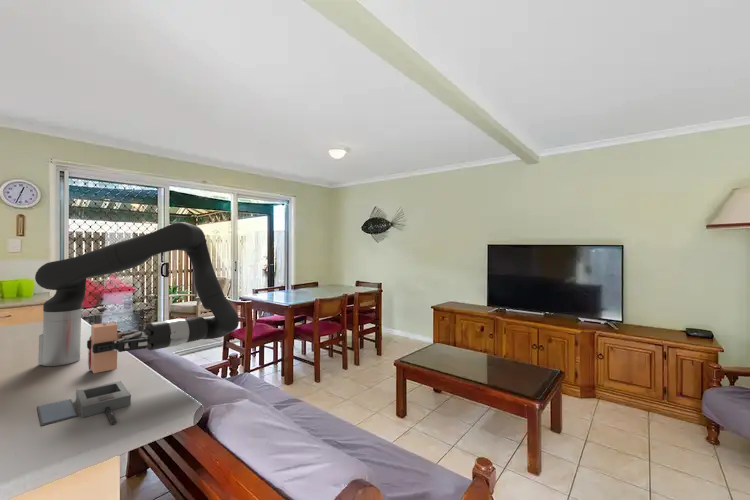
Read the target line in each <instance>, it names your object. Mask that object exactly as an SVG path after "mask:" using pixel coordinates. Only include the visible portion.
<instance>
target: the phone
mask: <svg viewBox="0 0 750 500" xmlns="http://www.w3.org/2000/svg"><path fill="white" fill-rule="evenodd" d="M74 405H75V404H74V402H73V400H72V398H69V399H65V400H59V401H56V402H52V403H47V404H44V405H43V404H42V405H39V406H36V410H37V409H38V410H37V414H38V418H39V424H40V426H41V427H44V426H48V425H51V424H56V423H58V422H62V421H65V420H70V419H74V418H78V417H79V414H78V412H77V409H76V407H75V406H74Z"/></svg>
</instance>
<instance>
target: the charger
mask: <svg viewBox="0 0 750 500" xmlns="http://www.w3.org/2000/svg"><path fill="white" fill-rule="evenodd" d="M90 327H91V328H90V329H91V330H90V331H91V332H90V336H91V370H92V373H93V374H96V373H97V374H98V373H101V372H107V371H112V370H117V369H118V351H113V349H112V351H106V352H101V353H93V352H92V346H93V344H97V343H103V342H109V341H112V343H113V341H114V340H117V333H118V323H116V322H114V321H111V322H102V323H101V322H100V323H95V324H91V326H90ZM91 370H90V371H91Z"/></svg>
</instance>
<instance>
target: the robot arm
mask: <svg viewBox="0 0 750 500" xmlns="http://www.w3.org/2000/svg"><path fill="white" fill-rule="evenodd" d="M208 247H209V246H208V244H207V240H206V236H205V233H204V231H203V230H202V228H200V227H199V226H197V225H194V224H191V223H188V222H185V221H177V222H173V223H171V224H168V225H166V226H163V227H162V228H160V229H157V230H155V231H152V232H149V233H147V234H143V235H138V236H136V237H132V238H129V239H124V240H121V241H118V242H114V243H111V244H108V245H106V246H103V247H100V248H97V249H94V250H91V251H88V252H85V253H83V254H80V255H77V256H74V257H69V258H64V259H60V260H54V261H49V262H46V263H44V264H42V265H41V266H40V267H39V268H38V269H37V271H36V272H35V276H34V281H35V282H36V284H37V285H38V287H41V288H42V289H45V290H50V291H51V290H52V291H55V293H54V295H53V296H51V298H50V299H48V300H46V301H45V302H44V303H43V306H42V311H43V312H42V316H43V317H42V334H41V333H40V334H39V336H38V353H37V354H38V355H37V356H38V358H37V359H38V360H37V361H38V363H37V364H38V365H39V366H44V367H55V366H63V365H69V364H72V363H76V362H78V361H80V360H81V343H82V341H81V337H82V335H81V333H82V304H83V302H84V300H85V296H86V286H87V278H90V277H99V276H105V275H110V274H115V273H119V272H123V271H127V270H130V269H134V268H137V267H139V266H141V265H143V264H144V263H146V262H147V261H148V260H149V259H151V258H152V257H155V256H156V255H160V254H163V253H167V252H172V251H182V252H185V253H186V254H187V257H188V258H189V260H190V261H191V263H192V264H191V265H192V268H193V279H194V280H193V281H194V287H195V291H196V294H197V295H198V298H199V300H200V303H201V305H202V307H203V308H204V309H205V310H206V311H211V313H212V315H213V316H212V317H209V318H207V317H206V318H205V317H202V316H193V317H187V318H173V319H167V320H161V321H160V320H159V321H154V322H148V323H147V324H146V325H145V327H144V330H143V331H139V330H138V329H136V330H135V329H134V330H131V329H128V330H124V331H117V340H114V341H113V343H112V341H109V342H103V343H97V344H93V346H92V352H93V353H101V352H106V351H112V349H113V351H117V353H122V352H128V351H129V352H130V351H136V350H143V349H144V350H145V349H147V350H148V351H155V350H161V349H165V348H172V347H175V346H176V347H177V346H180V345H182V344H187V343H191V342H195V341H200V340H214V339H219V338H223V337H226V336H227V335H228V334H231V333H233V332H234V331H235V330H236V329H237V328H238V327H239V324H240V321H239V320H240V319H239V316H238V315H239V314H238V313H237V311H236V309H235V308H234V307H233V306H232V304H231V303H230V301H228V299H227V298H226V297H225V294H224V292H223V289H222V287H221V284H220V282H219V280H218V277H217V275H216V272H215V269H214V266H213V263H212V260H211V257H210V252H209V248H208ZM86 348H87V349H88V350H89V349H91V340H89V339H88V340H87V341H86Z"/></svg>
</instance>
